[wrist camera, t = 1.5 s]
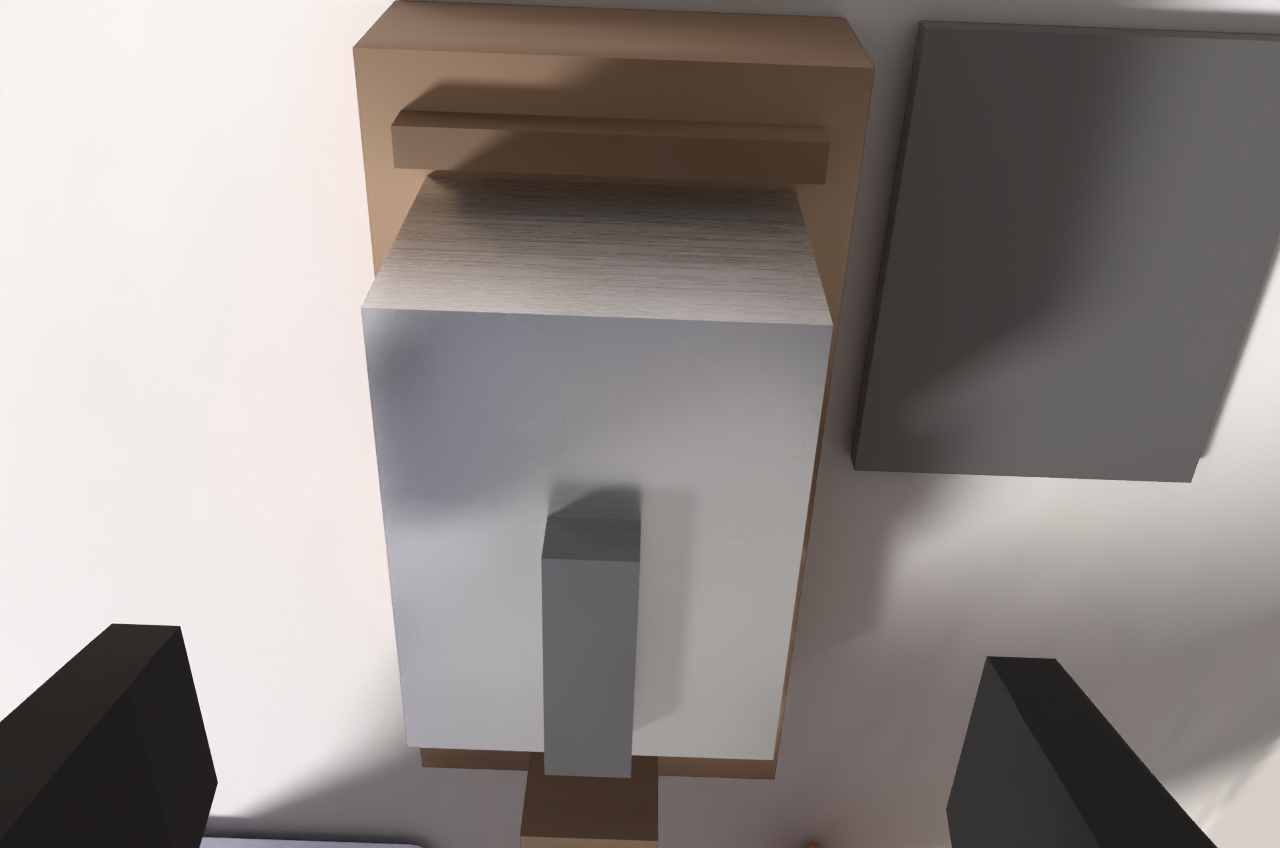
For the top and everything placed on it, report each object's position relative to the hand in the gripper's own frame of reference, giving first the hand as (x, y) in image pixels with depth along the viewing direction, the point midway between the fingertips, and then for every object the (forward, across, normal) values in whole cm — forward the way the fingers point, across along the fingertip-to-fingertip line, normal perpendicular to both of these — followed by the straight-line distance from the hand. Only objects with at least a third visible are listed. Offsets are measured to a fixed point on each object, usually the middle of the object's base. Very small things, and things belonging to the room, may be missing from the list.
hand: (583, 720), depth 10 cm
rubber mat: (+8, -7, -1) cm, 11 cm away
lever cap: (+6, 0, 0) cm, 6 cm away
